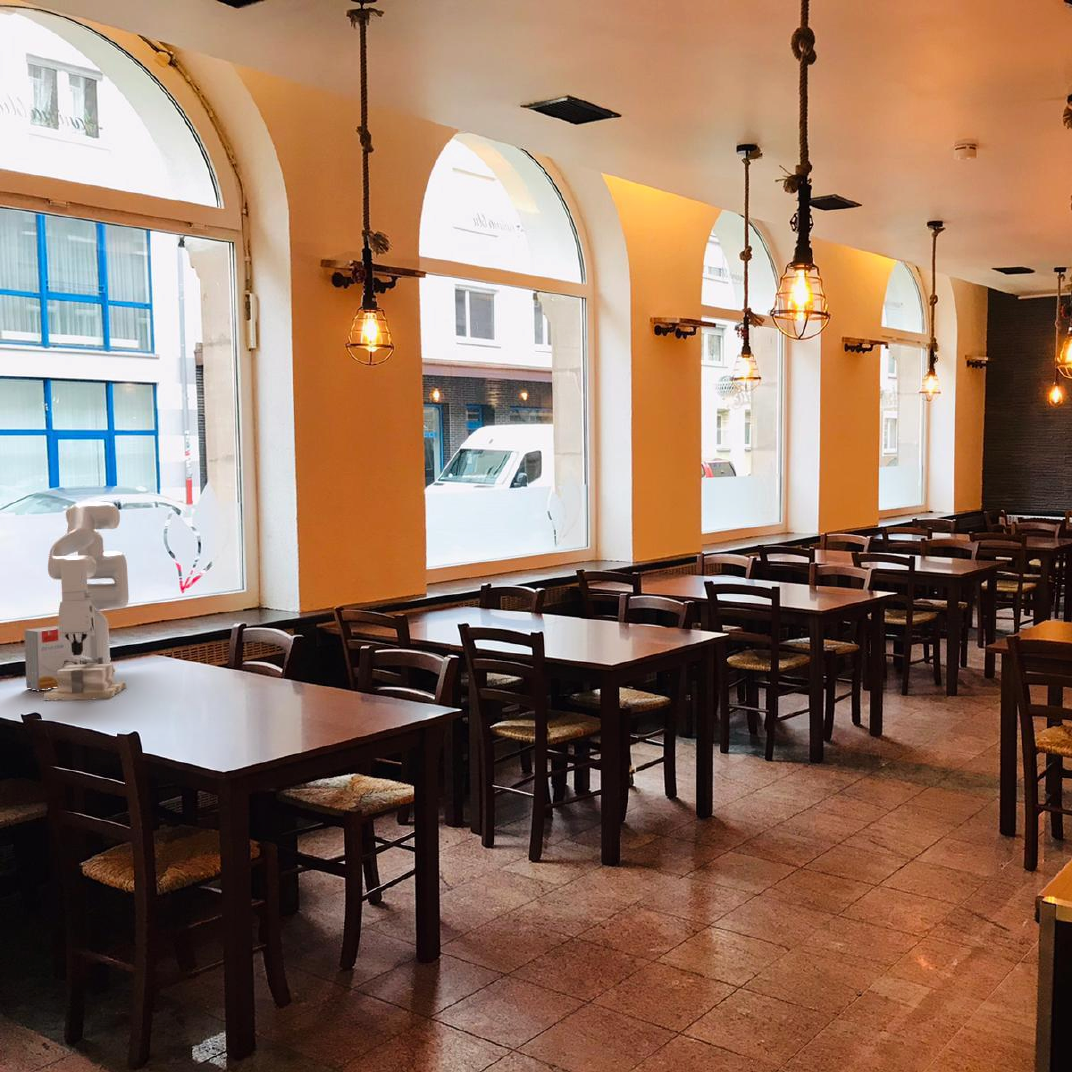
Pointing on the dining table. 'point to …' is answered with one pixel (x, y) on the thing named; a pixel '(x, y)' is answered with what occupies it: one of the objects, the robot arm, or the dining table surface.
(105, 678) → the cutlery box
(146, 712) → the dining table surface
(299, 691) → the dining table surface
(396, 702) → the dining table surface
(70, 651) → the hard drive box
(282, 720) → the dining table surface
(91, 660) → the latch bar
